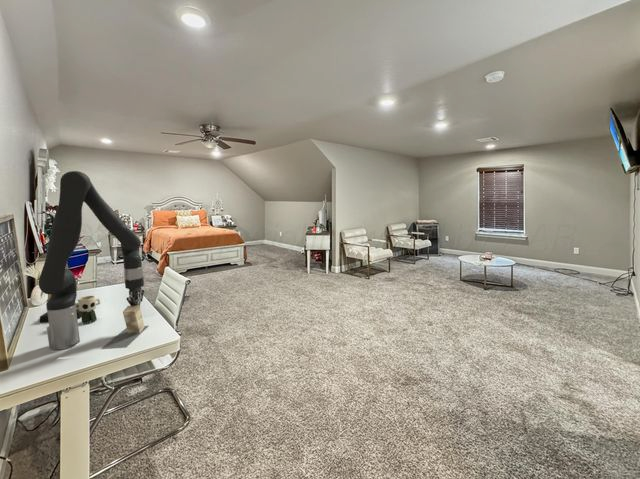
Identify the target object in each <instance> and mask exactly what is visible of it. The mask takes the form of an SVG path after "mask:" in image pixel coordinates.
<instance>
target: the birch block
mask: <svg viewBox="0 0 640 479" xmlns="http://www.w3.org/2000/svg"><path fill="white" fill-rule="evenodd" d="M122 315H123V318H124V323H125V328H127V330H128V334H137V333H141V331H142V330H143V328H144V327H145V326H146V325H145V322H144V317H143V314H142V309H141V304H140V305H134V306H131V305H127V307H125V308H124V310H123V311H122ZM141 334H142V333H141Z"/></svg>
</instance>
